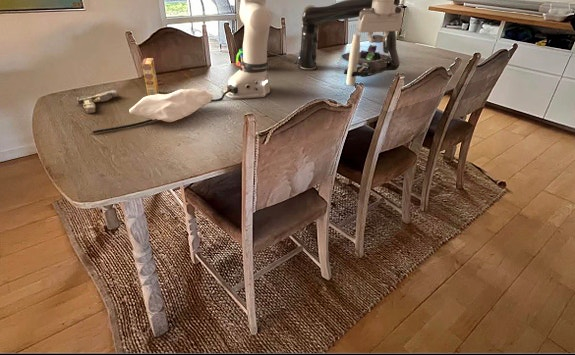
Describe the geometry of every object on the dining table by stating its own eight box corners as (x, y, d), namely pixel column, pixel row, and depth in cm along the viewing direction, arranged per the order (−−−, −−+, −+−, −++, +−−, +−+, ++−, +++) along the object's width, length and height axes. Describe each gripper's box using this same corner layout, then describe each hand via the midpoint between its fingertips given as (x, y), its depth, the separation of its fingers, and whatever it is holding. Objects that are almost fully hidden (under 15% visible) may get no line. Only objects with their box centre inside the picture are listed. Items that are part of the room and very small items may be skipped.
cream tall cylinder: (346, 85, 188) (353, 35, 175) (345, 82, 192) (351, 33, 179) (355, 85, 189) (362, 35, 175) (353, 82, 193) (360, 33, 179)
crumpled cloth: (117, 110, 146) (113, 90, 140) (195, 92, 166) (194, 73, 160) (143, 139, 134) (140, 118, 128) (223, 116, 154) (224, 96, 148)
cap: (380, 43, 158) (381, 37, 157) (370, 41, 160) (371, 36, 159) (383, 41, 162) (384, 35, 160) (373, 40, 164) (374, 34, 162)
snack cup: (256, 64, 215) (256, 46, 209) (265, 68, 208) (265, 50, 202) (232, 67, 207) (231, 49, 202) (240, 72, 200) (240, 53, 195)
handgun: (128, 97, 156) (111, 87, 164) (86, 107, 144) (70, 97, 152) (129, 103, 157) (113, 94, 165) (88, 114, 146) (72, 103, 154)
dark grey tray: (408, 61, 231) (410, 46, 226) (368, 68, 213) (370, 52, 209) (368, 52, 256) (369, 39, 251) (330, 58, 238) (331, 43, 234)
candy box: (157, 97, 164) (152, 63, 155) (147, 98, 163) (141, 63, 155) (158, 91, 171) (153, 57, 163) (149, 91, 170) (143, 58, 162)
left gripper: (364, 9, 148) (359, 44, 156) (406, 8, 154) (400, 42, 162) (356, 7, 153) (352, 41, 161) (398, 6, 159) (392, 39, 167)
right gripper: (361, 58, 198) (339, 62, 188) (382, 64, 188) (359, 69, 179) (359, 72, 202) (337, 77, 192) (379, 78, 192) (357, 84, 183)
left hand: (376, 42), depth 161 cm, fingers closed on cap, 4 cm apart
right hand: (348, 73), depth 186 cm, fingers closed on cream tall cylinder, 4 cm apart
